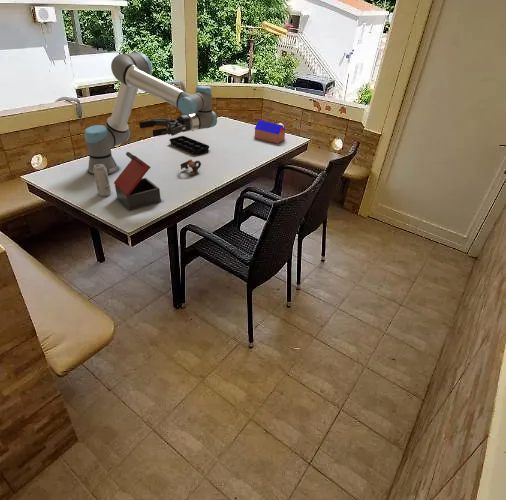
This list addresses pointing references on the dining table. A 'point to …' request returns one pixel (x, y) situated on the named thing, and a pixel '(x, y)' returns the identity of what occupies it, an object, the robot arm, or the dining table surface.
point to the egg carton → (189, 145)
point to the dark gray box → (140, 195)
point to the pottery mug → (192, 165)
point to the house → (269, 132)
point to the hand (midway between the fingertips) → (146, 129)
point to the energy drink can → (102, 180)
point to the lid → (131, 174)
